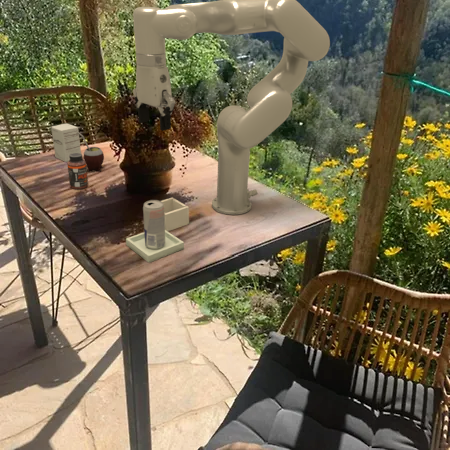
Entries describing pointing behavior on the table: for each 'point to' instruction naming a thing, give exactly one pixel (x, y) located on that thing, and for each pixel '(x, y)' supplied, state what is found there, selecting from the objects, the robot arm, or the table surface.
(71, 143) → the supplement box
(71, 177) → the supplement bottle
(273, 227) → the table surface
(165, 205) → the can holder
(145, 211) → the energy drink
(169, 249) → the tray
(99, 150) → the mate gourd
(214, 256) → the table surface
